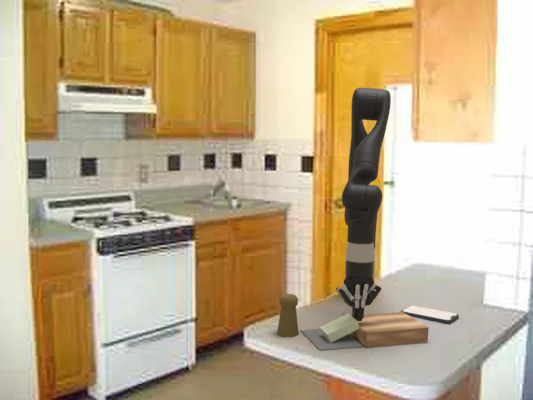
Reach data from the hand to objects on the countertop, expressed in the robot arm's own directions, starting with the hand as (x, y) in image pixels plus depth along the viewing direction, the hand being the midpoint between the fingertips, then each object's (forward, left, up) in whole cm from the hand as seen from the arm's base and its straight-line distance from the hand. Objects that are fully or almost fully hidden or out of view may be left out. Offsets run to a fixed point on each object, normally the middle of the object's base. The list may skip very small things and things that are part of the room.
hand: (357, 320), depth 161 cm
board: (0, +9, -5) cm, 10 cm away
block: (0, -5, -2) cm, 5 cm away
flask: (-18, +8, -5) cm, 20 cm away
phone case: (-13, +30, -6) cm, 34 cm away
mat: (-1, -7, -5) cm, 9 cm away
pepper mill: (-8, -17, -5) cm, 20 cm away
